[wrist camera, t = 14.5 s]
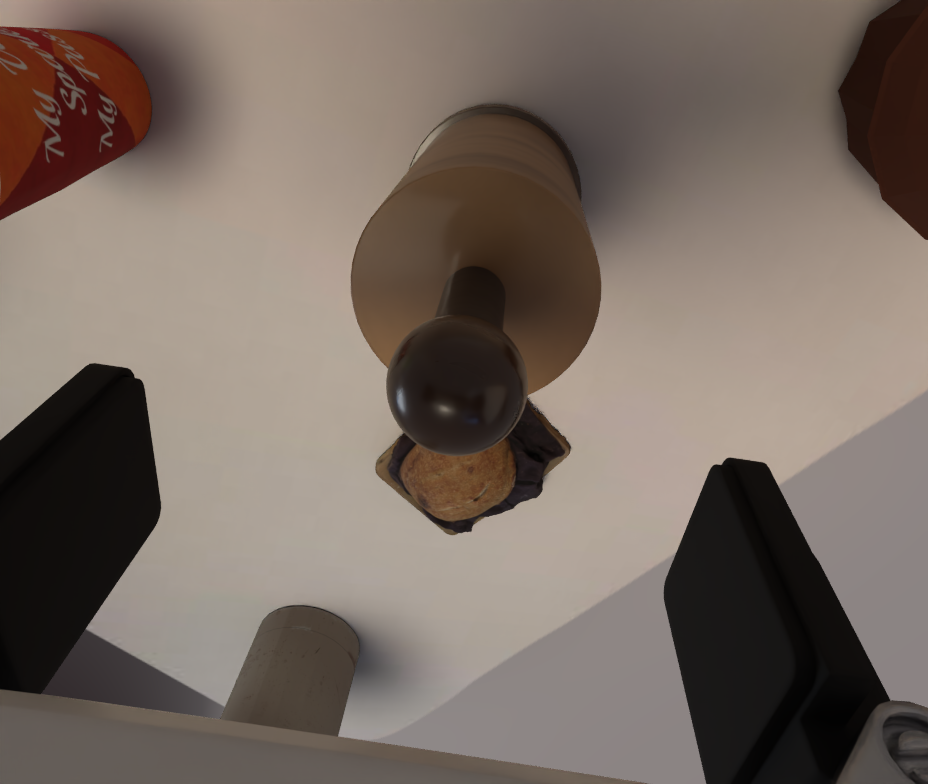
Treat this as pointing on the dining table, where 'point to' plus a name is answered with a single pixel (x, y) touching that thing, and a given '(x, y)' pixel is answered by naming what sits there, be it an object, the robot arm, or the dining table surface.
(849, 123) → the muffin
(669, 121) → the dining table surface
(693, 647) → the robot arm
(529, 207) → the paper towel holder
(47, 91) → the paper cup
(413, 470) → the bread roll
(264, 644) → the thermos bottle
